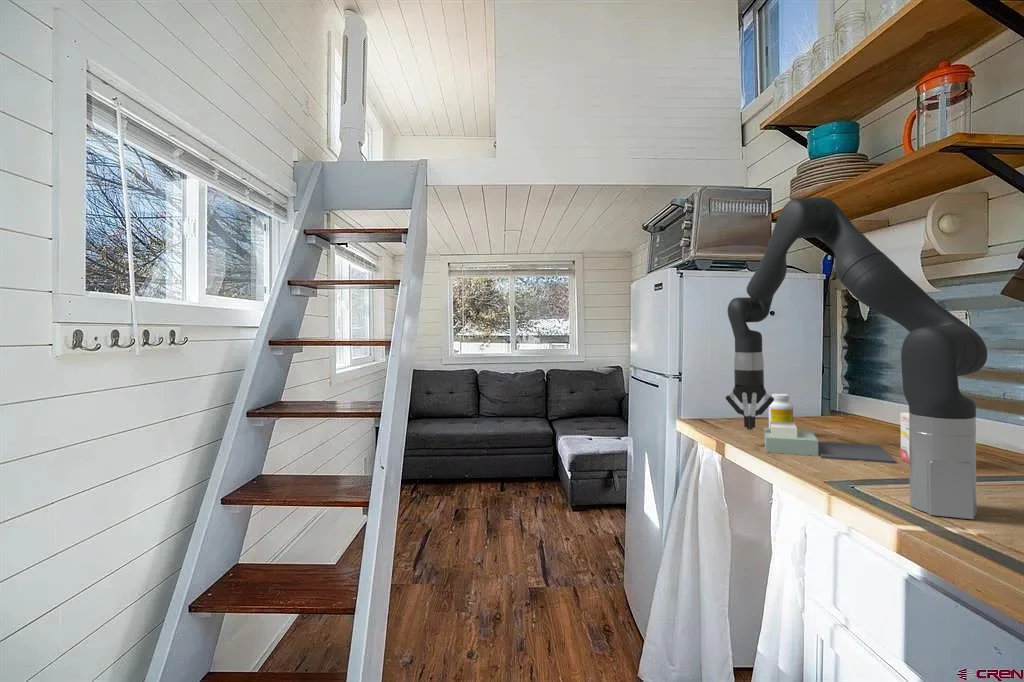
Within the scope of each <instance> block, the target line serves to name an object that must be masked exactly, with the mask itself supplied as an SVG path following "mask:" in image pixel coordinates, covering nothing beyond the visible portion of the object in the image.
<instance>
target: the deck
mask: <svg viewBox="0 0 1024 682" xmlns="http://www.w3.org/2000/svg"><path fill="white" fill-rule="evenodd" d="M763 442H764V447H765V452H772V453H771V454H779V453H784V454H783V455H794V454H798V455H797V456H809V455H812V456H813V457H819V453H818V442H819V440H818V438H817V437H816V435H815V434H814V432H813V431H812V430H811V429H797V438H795V437H776V436H772V435H771V431H770V428H769V427H767V428H766V427H763Z"/></svg>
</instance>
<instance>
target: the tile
mask: <svg viewBox="0 0 1024 682" xmlns="http://www.w3.org/2000/svg"><path fill="white" fill-rule="evenodd" d="M797 430H798V427H797V425H796V424H795V422H794V421H793V422H775V421H770V431H771V435H772V436H776V437H795V438H797Z"/></svg>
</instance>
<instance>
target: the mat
mask: <svg viewBox="0 0 1024 682" xmlns="http://www.w3.org/2000/svg"><path fill="white" fill-rule="evenodd" d="M818 456H819V458H820V459H827V458H831V459H830V460H842V459H843V461H845V460H846V461H857V460H865V461H864V462H871V461H872V462H873V463H888V464H897V460H896V459H895V458H893V457H892V456H891V454H889V453H887V452H886V450H884V449H883V448H882V447H881V446H880V445H879V444H868V443H867V444H866V443H846V442H833V441H832V442H831V441H830V442H829V441H818Z"/></svg>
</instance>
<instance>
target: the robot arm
mask: <svg viewBox="0 0 1024 682" xmlns="http://www.w3.org/2000/svg"><path fill="white" fill-rule="evenodd" d="M810 238H817V239H819V240H820V241H821V242H823V243H824V244H825V245H826V246H827V247H828V248H829V249H830V250H831V251H832V252H833V254H834V261H835V262H834V264H835V265H834V266H835V272H836V276H837V279H838V280H839V281H840V283H841V284H842V285H843V286H844V287H845V288H846V289H847V290H848V292H850V293H851V295H853V297H855V298H856V299H857V300H858V301H859V302H861V303H862V304H863V305H864V306H866V307H868V308H869V309H872V310H874V311H876V312H877V313H879V314H880V315H883V316H885V317H886V318H888V319H890V320H892V321H894V322H896V323H898V324H899V325H900V326H901V327H903V328H904V329H906V331H908V332H909V333H908V334H907V335H906V337H905V338H904V340H903V342H902V346H901V353H900V361H901V363H900V364H901V366H900V367H901V379H902V391H903V395H904V398H905V400H906V402H907V404H908V413H909V459H910V463H909V505H910V506H911V507H913V508H914V509H916V510H919V511H921V512H924V513H927V514H928V516H929V515H930V516H938V517H947V518H956V519H957V518H958V519H967V520H975V517H976V516H977V514H978V513H977V512H978V510H977V507H978V506H977V502H978V500H977V498H978V497H977V441H976V440H977V428H976V427H977V421H976V419H977V417H976V416H977V409H976V408H977V406H976V403H975V401H974V400H973V399H971V398H969V397H967V396H965V395H963V394H962V392H961V391H960V387H959V380H958V379H959V377H961V376H967V375H971V374H974V373H976V372H979V370H981V369H983V367H984V366H985V365H986V362H987V360H988V348H987V345H986V343H985V341H984V339H983V338H982V336H980V334H979V333H978V332H976V331H975V330H974V329H973V328H972V327H971V326H970V325H967V324H966V323H965V322H963V320H961V319H959V318H958V317H957V316H955V315H954V314H953V313H951V311H949V310H947V309H946V308H945V307H943V306H942V305H940V304H939V303H938V302H936V300H934V299H933V298H932V297H931V296H930V295H929V294H928V293H927V292H925V291H924V289H922V287H920V286H919V285H918V284H917V283H916V282H915V281H914V280H913V279H912V278H911V277H910V276H908V275H907V274H906V273H905V272H904V271H903V270H902V269H901V268H900V267H899V266H898V265H897V264H896V263H895V262H894V261H892V259H890V257H888V256H887V254H885V253H884V252H882V250H880V249H879V248H878V247H876V245H874V244H873V242H872V241H870V240H869V238H867V237H866V236H865V235H864V234H863V233H862V232H861V231H860V230H859V229H858V228H857V227H856V226H855V225H854V223H852V222H851V220H850V219H849V217H847V215H846V214H845V213H844V211H843V210H842V209H841V207H840V206H838V205H837V203H836V202H834V201H833V200H832V199H830V198H827V197H823V196H814V197H813V196H811V197H800V198H798V197H797V198H794V199H791V200H789V201H787V203H785V205H784V206H783V207H782V209H781V210H780V212H779V215H778V217H777V220H776V222H775V225H774V228H773V230H772V233H771V235H770V238H769V241H768V244H767V247H766V249H765V251H764V255H763V256H762V258H761V259H762V260H761V261H760V263H759V266H758V267H757V269H756V270H755V272H754V273H753V275H752V276H751V278H750V280H749V282H748V284H747V286H746V293H747V295H748V296H749V297H734V298H732V299H731V300H730V302H729V303H728V305H727V317H728V320H729V322H730V326H731V330H732V332H733V333H732V334H733V336H734V337H733V338H734V360H733V363H734V365H733V369H734V387H733V389H732V392H731V393H729V394H727V395H726V396H725V400H726V401H727V403H728V404H729V405H730V406H731V407H732V408H733V410H735V412H736V413H737V414H738V415H742V416H743V426H744V428H746V430H747V431H749V430H750V431H751V430H752V431H753V430H754V429H755V427H756V417H757V416H759V415H763V413H765V412H766V410H768V409H769V406H770V404H771V403H772V402H773V401H774V398H773V397H772V395H770V394H768V393H767V390H766V387H765V378H764V377H765V373H764V372H765V371H764V370H765V369H764V367H765V365H764V362H765V361H764V355H763V335H762V333H761V332H760V331H756V330H752V329H751V328H749V326H748V323H760V322H763V321H764V320H766V319H767V317H768V315H769V314H770V311H771V306H772V303H773V299H774V296H775V294H776V293H777V291H778V289H779V288H780V287H781V285H782V283H783V282H784V281H785V278H786V276H787V270H788V269H787V267H788V266H787V265H788V264H787V255H788V254H787V253H788V251H789V249H791V247H792V245H793V244H794V243H795V242H796V241H797V239H810ZM736 399H737V400H738V401H739V403H741V404H742V406H743V407H742V408H740V406H739V405H738V404H737V403H736ZM761 400H763V401H764V402H763V403H762V405H760V407H759V408H758V409H757V404H759V403H760V402H761ZM749 405H750V411H749ZM749 412H750V415H749Z"/></svg>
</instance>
